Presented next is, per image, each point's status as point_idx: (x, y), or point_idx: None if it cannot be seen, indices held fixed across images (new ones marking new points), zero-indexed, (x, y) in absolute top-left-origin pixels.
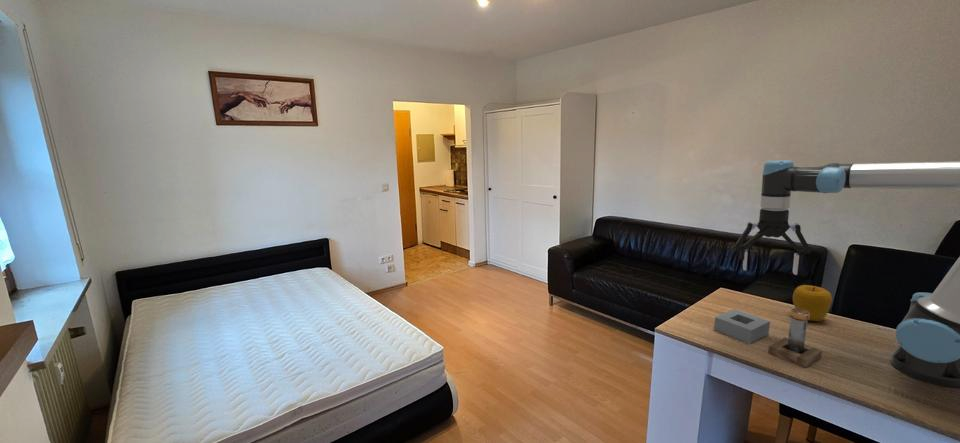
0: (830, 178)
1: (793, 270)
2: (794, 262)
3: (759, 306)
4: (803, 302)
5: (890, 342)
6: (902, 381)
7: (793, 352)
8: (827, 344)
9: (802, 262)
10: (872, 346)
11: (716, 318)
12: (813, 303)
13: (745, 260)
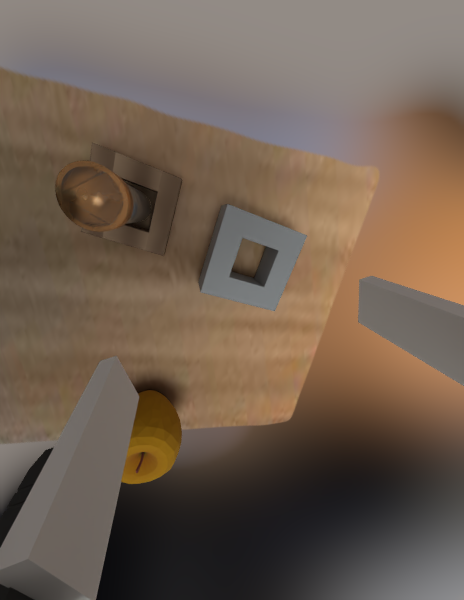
0: None
1: (127, 395)
2: (105, 452)
3: (231, 395)
4: (155, 413)
5: (12, 391)
6: None
7: (128, 174)
8: (97, 308)
9: (27, 476)
10: (30, 353)
11: (303, 234)
12: (135, 416)
13: (436, 302)
